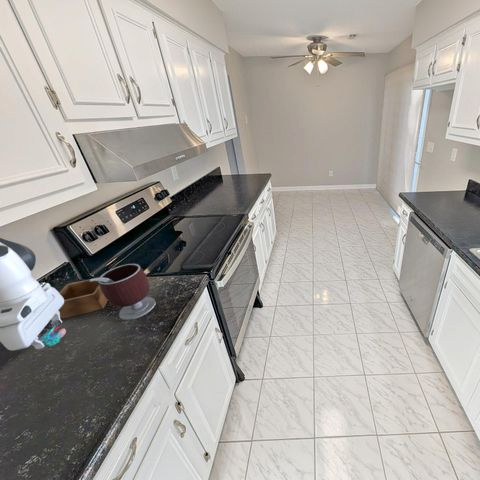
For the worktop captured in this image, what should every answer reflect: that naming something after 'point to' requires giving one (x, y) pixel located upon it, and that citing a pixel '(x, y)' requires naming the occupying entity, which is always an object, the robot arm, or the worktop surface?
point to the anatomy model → (53, 336)
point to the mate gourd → (127, 290)
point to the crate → (81, 298)
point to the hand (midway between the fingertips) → (50, 335)
